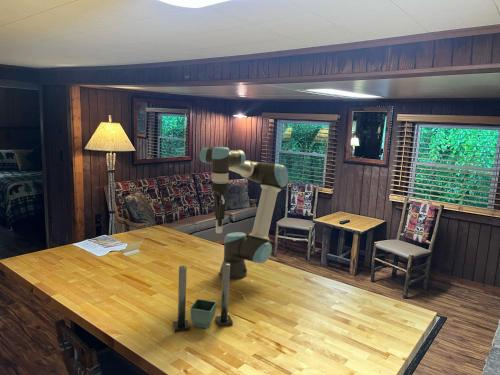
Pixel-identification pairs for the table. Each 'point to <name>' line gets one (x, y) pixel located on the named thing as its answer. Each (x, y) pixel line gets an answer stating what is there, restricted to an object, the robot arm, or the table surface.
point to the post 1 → (181, 303)
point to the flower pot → (202, 312)
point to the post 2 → (224, 298)
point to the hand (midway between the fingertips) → (218, 232)
